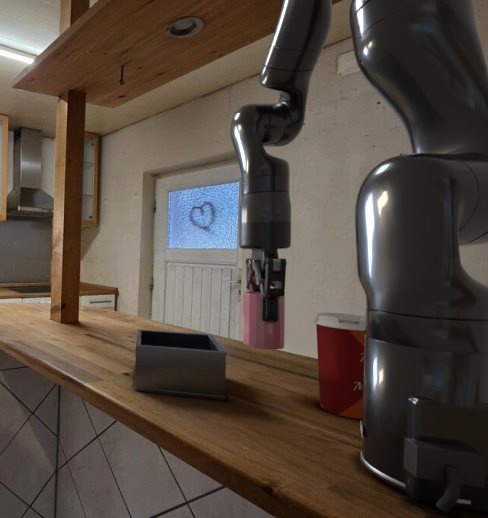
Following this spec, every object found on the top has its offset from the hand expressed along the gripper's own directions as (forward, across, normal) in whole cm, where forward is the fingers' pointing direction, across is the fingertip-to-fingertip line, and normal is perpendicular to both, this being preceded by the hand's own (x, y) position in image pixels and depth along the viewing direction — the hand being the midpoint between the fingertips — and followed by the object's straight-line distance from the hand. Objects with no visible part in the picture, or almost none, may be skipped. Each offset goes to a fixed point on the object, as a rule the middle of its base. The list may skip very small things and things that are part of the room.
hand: (263, 318), depth 64 cm
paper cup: (+12, -7, -9) cm, 16 cm away
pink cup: (+5, 0, 0) cm, 5 cm away
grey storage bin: (+12, -2, +14) cm, 19 cm away
